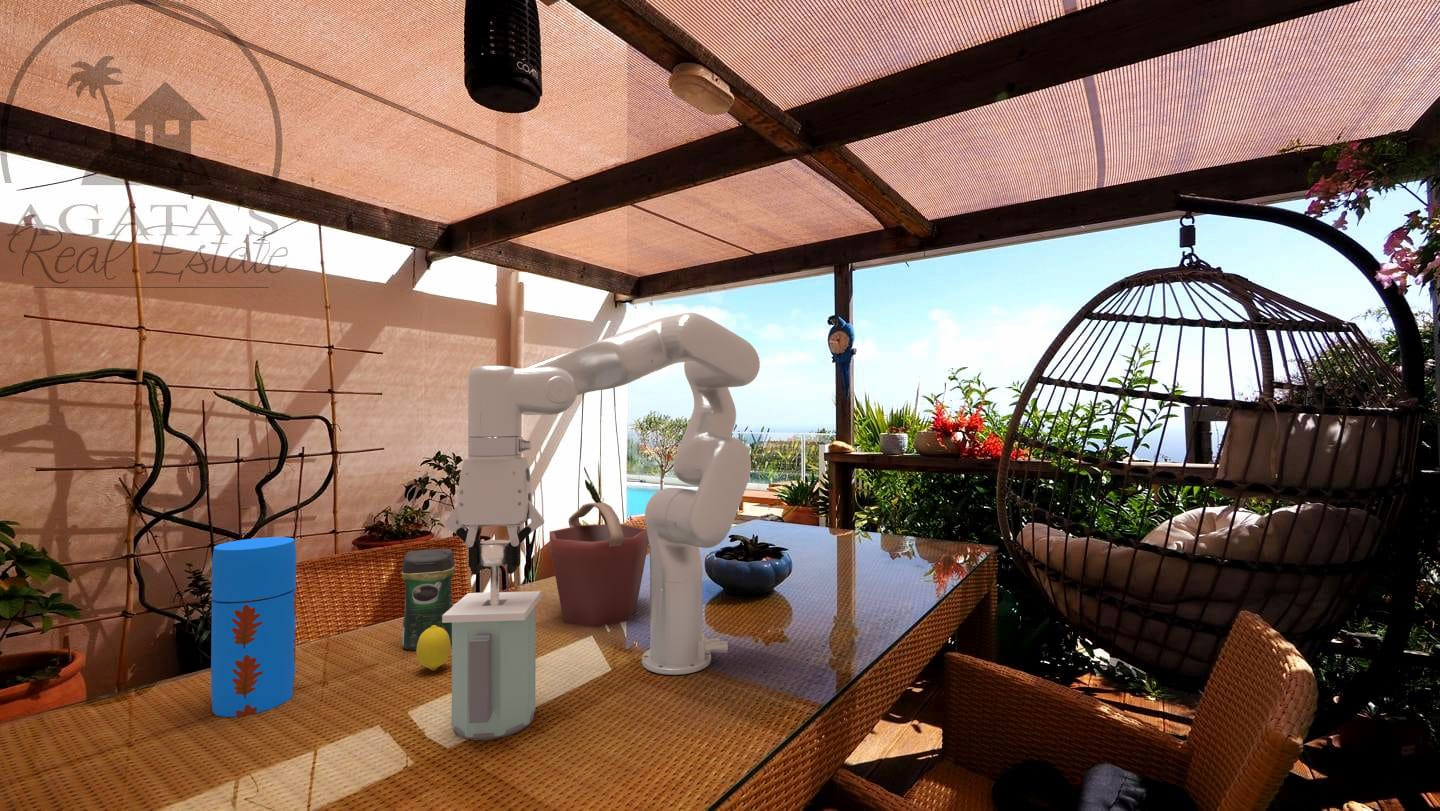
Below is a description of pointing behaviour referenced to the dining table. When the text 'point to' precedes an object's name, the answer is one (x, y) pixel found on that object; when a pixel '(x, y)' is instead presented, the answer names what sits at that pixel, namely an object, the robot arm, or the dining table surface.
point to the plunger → (493, 563)
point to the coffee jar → (426, 592)
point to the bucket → (598, 568)
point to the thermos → (253, 625)
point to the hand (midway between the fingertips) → (494, 570)
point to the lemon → (433, 647)
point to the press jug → (493, 664)
